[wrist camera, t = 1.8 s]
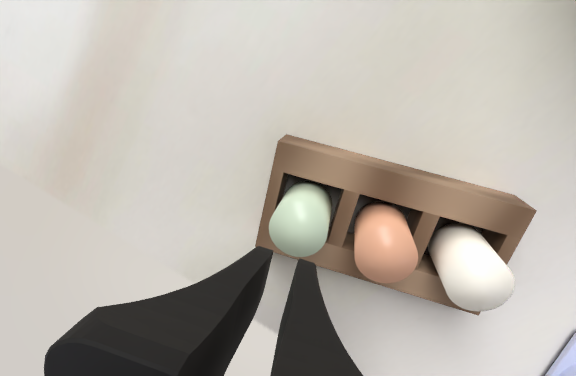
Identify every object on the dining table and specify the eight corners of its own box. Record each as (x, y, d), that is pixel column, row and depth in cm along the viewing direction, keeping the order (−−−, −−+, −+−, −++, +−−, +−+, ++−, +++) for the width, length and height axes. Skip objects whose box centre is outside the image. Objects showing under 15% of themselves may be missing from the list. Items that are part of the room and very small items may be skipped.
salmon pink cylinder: (413, 209, 19) (427, 239, 15) (396, 253, 20) (405, 291, 16) (362, 195, 19) (365, 221, 15) (348, 238, 20) (347, 272, 16)
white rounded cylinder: (493, 231, 18) (527, 268, 15) (471, 275, 19) (497, 319, 16) (439, 216, 18) (460, 249, 15) (420, 260, 19) (435, 300, 16)
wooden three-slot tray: (514, 195, 19) (536, 210, 17) (465, 290, 21) (478, 315, 19) (286, 134, 20) (278, 141, 18) (264, 230, 23) (255, 246, 20)
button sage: (338, 188, 19) (334, 213, 16) (324, 231, 20) (318, 264, 17) (289, 174, 19) (275, 195, 16) (279, 218, 20) (263, 247, 17)
